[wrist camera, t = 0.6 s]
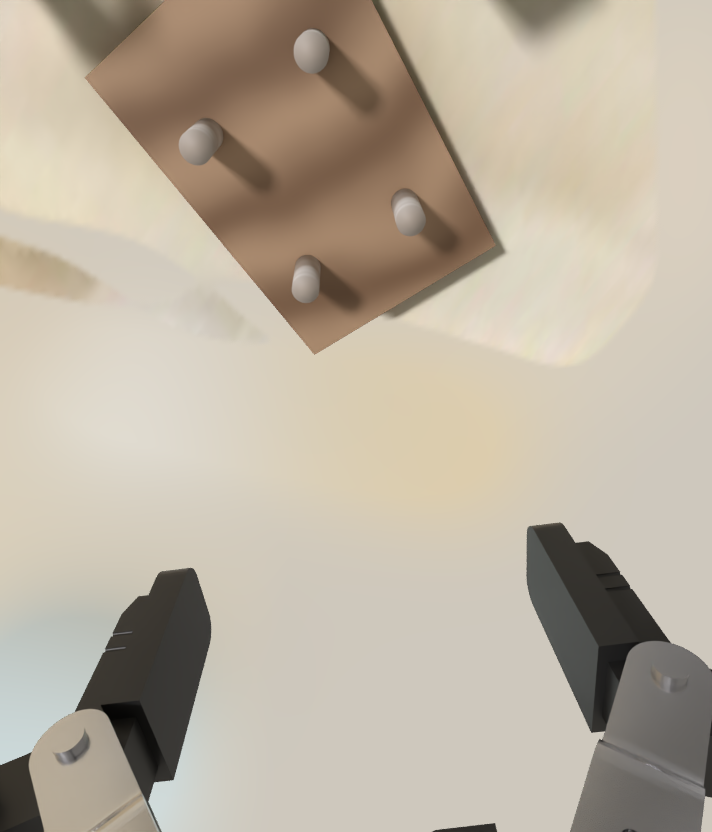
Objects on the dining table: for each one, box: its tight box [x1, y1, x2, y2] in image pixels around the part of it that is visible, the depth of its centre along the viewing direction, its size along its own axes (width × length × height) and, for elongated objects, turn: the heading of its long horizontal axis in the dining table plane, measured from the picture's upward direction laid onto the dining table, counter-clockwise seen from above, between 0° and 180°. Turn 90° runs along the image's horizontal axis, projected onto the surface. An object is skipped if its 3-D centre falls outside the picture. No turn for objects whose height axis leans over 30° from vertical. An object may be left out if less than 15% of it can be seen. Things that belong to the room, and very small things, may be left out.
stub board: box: [85, 0, 496, 354], centre depth 30 cm, size 20×14×5 cm
